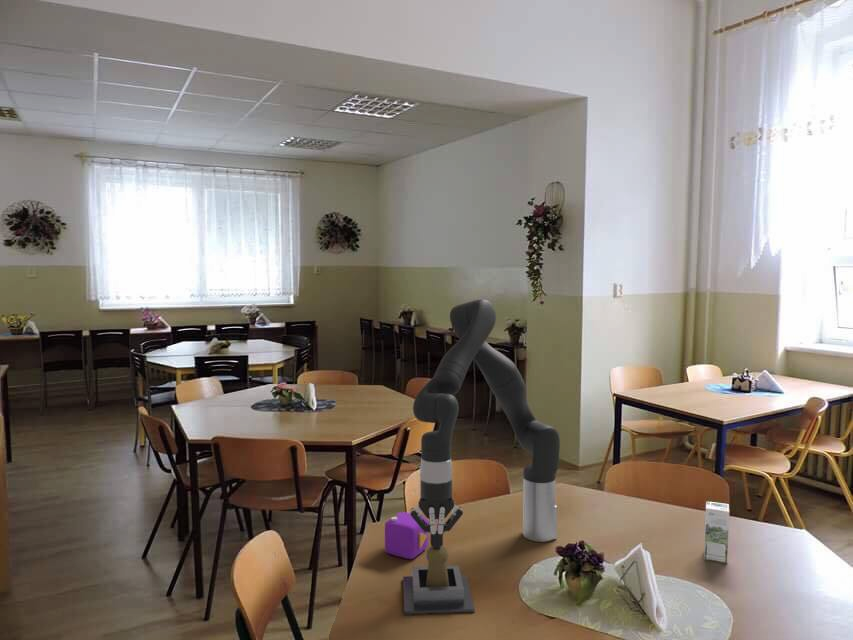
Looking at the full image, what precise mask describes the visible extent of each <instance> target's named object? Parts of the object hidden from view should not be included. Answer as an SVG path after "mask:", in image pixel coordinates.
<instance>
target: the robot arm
mask: <svg viewBox="0 0 853 640" xmlns="http://www.w3.org/2000/svg"><path fill="white" fill-rule="evenodd" d="M449 318H450V319H449V320H450V324H451V327H452V329H453V331H454V333H455V335H456V336H457V338H458V341H457V342H456V343H454V344H453V345H452V346H451V348H450V349H449V350H448V351H447V352H446V353H445V354H444V356H443V357H442V359H441V360H440V361H439V364H438V366H437V368H436V371H435V373H434V375H433V376H432V378H431V379H430V380H429V381H428V382H427V383H426V384H425V385H424V386H423V387H422V389H420V391H419V392H418V393H417V394H416V396H415V398H414V401H413V405H412V406H413V407H412V411H413V412H412V413H413V415H414V418H416V420H418V421H419V422H422V423H431V424H439V429H438V430H431V431H427V432H425V433H423V435H422V436H421V444H420V446H421V447H420V450H421V451H420V452H421V454H420V455H421V456H420V457H421V458H420V459H421V460H420V465H419V467H420V468H419V469H420V471H419V472H420V473H419V478H420V480H419V481H420V483H419V484H420V491H419V492H420V498H419V500H418V501H417V502H418V505H416V506H415V507H413V508H410V511H409V513H410V514H411V516H412V518H413V519H414V520H415V521H416V522H417V524H418V525H419V526H420V527H421V528H422V530H423V531H424V532H429V533H430V547H431V546H432V547H434V549H440V546H444V545H443V544H444V539H443V538H444V537H443V536H444V533H445V532H450V531H451V530H452V529H453V527H455V524H456V523H458V521H459V520H460V518H462V516H463V513H464V511H463V507H461V506H457V505H456V504H455V501H454V499H453V475H454V473H453V464H452V438H453V434H454V433H453V432H454V428H455V425H456V423H457V422H456V421H457V418H458V415H459V409H460V407H459V401H458V400H457V398H456V397H455V396H454V395H457V394H458V393H459V391H460V390H461V388H462V384H463V383H464V380H465V377H466V375H467V372H468V370H469V368H470V366H471V364H472V362H473V361H474V362H475V364H476V366H477V367H478V369H479V370H480V372H481V374H482V375H483V377H484V380H485V381H486V383H487V385H488V386H489V389H490V390H491V392H492V394H493V395H494V397H495V399H496V400H497V401H498V404H499V405H500V407H501V408H502V410H503V412H504V414H505V415H506V417H507V419H508V421H509V423H510V425H511V427H512V431H513V432H514V435H515V437H516V439H517V442H518V443H519V445H520V447H521V448H522V449H523V450H524V451H526V452H528V453H530V454H532V462H531V464H530V463H529V464H527V465H526V466H524V468H523V472H522V473H523V477H522V478H523V479H522V481H523V482H522V484H523V485H522V486H523V487H522V488H523V489H522V492H523V493H522V495H523V496H522V503H523V504H522V536H523V537H524V538H525V539H526V540H529V541H533V542H537V543H539V542H540V543H545V542H550V541H554V540H557V539H558V506H557V504H556V487H557V486H556V483H557V482H556V481H557V480H556V477H557V476H556V475H557V472H558V470H559V466H560V465H559V464H560V453H561V452H560V448H561V439H560V434H559V431H558V430H557V429H556V428H555V427H553V426H551V425H548V424H546V423H542V422H540V420H539V421H538V419H537V418H536V417H535V415H534V414H533V412H532V411H531V409H530V407H529V404H528V402H527V385H526V383H525V380H524V378H523V377H522V374H521V373H520V371H519V369H518V368H517V366H516V364H515V362H513V361H512V360H511V359H510V358H509V357H507V356H506V355H505V354H502V353H501V352H500V351H498V350H497V349H495V348H493V347H492V346H491V345H490V344H489V343H488V342H486V340H487V339H488V337H489V336H490V335H491V334H492V331H493V330H494V327H495V326H496V322H497V315H496V310H495V308H494V306H493V304H492V303H491V302H490V300H487V299H481V298H480V299H475V300H472V301H471V300H470V301H468V302H464V303H461V304H457V305H455V306H454V307H452V308H451V309H450V312H449ZM421 512H422V513H421ZM450 513H451V515H450V516H449V514H450ZM422 514H423V515H424V517H425V518H427V520H428V519H429V521H428V522H429V525H428V524H427V523H426V522H425V521H424V519H423V518H422V517H421V516H420V515H422ZM448 516H449V517H448ZM447 517H448V518H447ZM446 518H447V520H446V521H445V519H446ZM436 520H437V524H436ZM436 525H437V527H436ZM436 529H437V530H436ZM429 533H428V534H429Z"/></svg>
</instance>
